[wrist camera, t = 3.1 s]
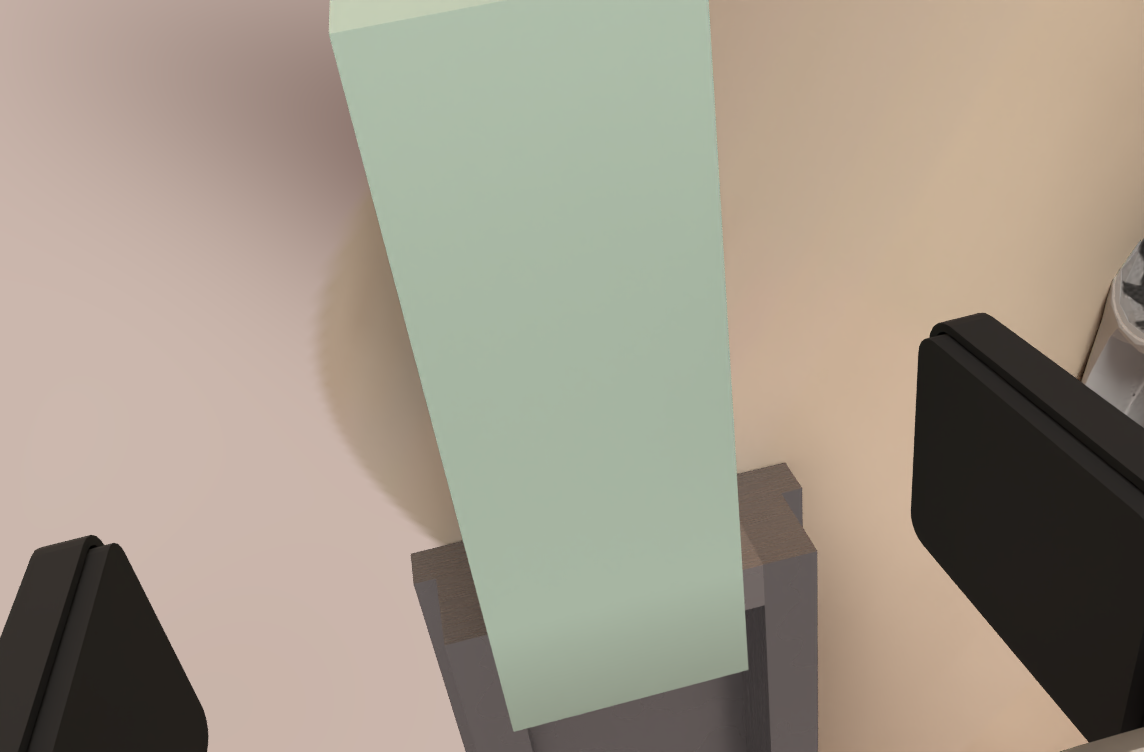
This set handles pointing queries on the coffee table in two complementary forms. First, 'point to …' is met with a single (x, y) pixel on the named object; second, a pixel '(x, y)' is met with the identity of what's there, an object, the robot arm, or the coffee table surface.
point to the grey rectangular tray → (677, 717)
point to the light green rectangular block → (565, 324)
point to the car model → (1121, 342)
